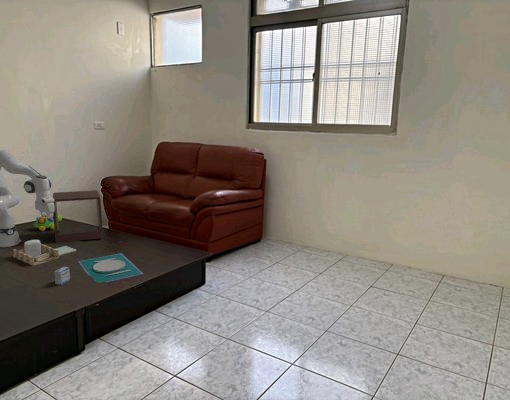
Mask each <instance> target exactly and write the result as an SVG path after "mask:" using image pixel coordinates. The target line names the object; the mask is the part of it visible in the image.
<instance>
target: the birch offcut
mask: <svg viewBox="0 0 510 400" xmlns="http://www.w3.org/2000/svg"><path fill="white" fill-rule="evenodd" d="M41 254H42V255H40V256H37V257H34V261H41V260H43V259H46V258H48V257H50V254H48V253H41Z"/></svg>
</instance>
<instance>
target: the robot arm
mask: <svg viewBox="0 0 510 400" xmlns="http://www.w3.org/2000/svg"><path fill="white" fill-rule="evenodd" d="M2 168H3V169H4V170H5V171H6V172H7V173H10V174H13V175H24V176H28V177H29V178H31V179H28V180H26V181H25V182H24V184H23V189H24V191H25V192H26V193H27V194H35V197H36V198H35V200H34V208H35V210H37V211H39V213H40V215H41V216H40V217H45V215H46V218H50V217H51V216H50V215H51V214H53V213H54V212H55V206H54V203H53V202H54V199H53V196H51V192H50V189H51V188H52V182H51V180H50V179H49V178H48V177H47V176H46V175H42V174H41V173H40V172H38V171H37V170H35V169H34V168H33V167H32V166H30V165H28V164H26V163H24V162H22V161H21V160H19V159H18V158H17V157H16V156H15V155H14V154H13V153H11V152H10V151H8V150H6V149H0V248H8V247H13V246H16V245H17V246H18V245H19V244H20V243H21V242H22V240H21V239H20V235H19V231H17V227H16V225H15V218H14V215H13V214H11V213H10V212H9V209H11V208H14V207H16V206H17V205H18V204H19V203H20V198H19V196H18V195H17V194H16V193H14V192H13V191H11V189H10V188H9V187H8V185H7V183H6V180H5V176H4V173H3V172H2ZM45 213H46V214H45Z"/></svg>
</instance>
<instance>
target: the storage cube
mask: <svg viewBox="0 0 510 400" xmlns="http://www.w3.org/2000/svg"><path fill="white" fill-rule="evenodd" d="M52 198H53V199H54V202H53V203H54V206H55V212H54V213H52V214H53V215H52V218H53V217H54V228H55V229H54V235H55V236H54V237H55V243H59V244H60V243H67V242H68V243H69V242H76V241H77V242H78V241H85V240H87V241H88V240H96V239H103V237H104V235H103V233H104V232H103V219H102V218H103V217H102V205H101V204H102V203H101V199H102V198H101V196H100V193H99V191H98V190H97V189H95V190H94V189H93V190H83V191H82V190H80V191H63V192H62V191H60V192H53V194H52ZM90 200H96V216H97V217H96V218H97V226H94V227H93V226H91V227H82V228H71V229H61V230H60V227H59V222H58V215H57V214H58V204H57V203H58V202H59V203H60V202H61V203H62V202H73V201H74V202H75V201H90Z"/></svg>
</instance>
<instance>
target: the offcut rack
mask: <svg viewBox="0 0 510 400" xmlns="http://www.w3.org/2000/svg"><path fill="white" fill-rule="evenodd" d="M12 253H13V254H12V255H13V258H15V259H17V260H19V261H21V262H24V263H26V264H28V265H30V266H37V265H41V264H44V263H48V262H52V261H54V260H57V259H58V260H59V258H60V256H59V252H58V250H56V248H53V247H51V246H48V245H46V244H43V243H41V254H45V253H48V254H50V256H52V258H49V259H46V260H42V261H39V262H35V263H34V257H32V256H30V255H27V254H25V250H24V249H19V250H18V249H16V248H13V249H12Z"/></svg>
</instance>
